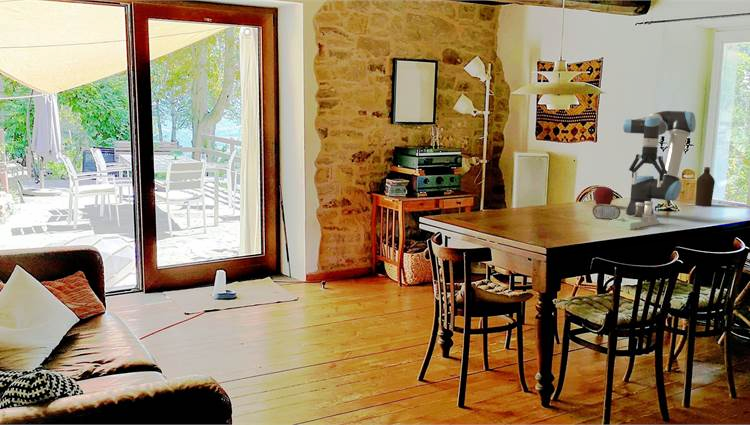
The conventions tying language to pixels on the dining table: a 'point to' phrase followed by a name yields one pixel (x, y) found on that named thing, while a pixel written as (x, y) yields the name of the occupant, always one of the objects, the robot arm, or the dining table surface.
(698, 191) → the olive oil
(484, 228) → the dining table surface
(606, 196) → the apple
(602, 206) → the tin
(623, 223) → the parts tray
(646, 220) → the fuse holder
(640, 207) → the fuse
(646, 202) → the fuse
